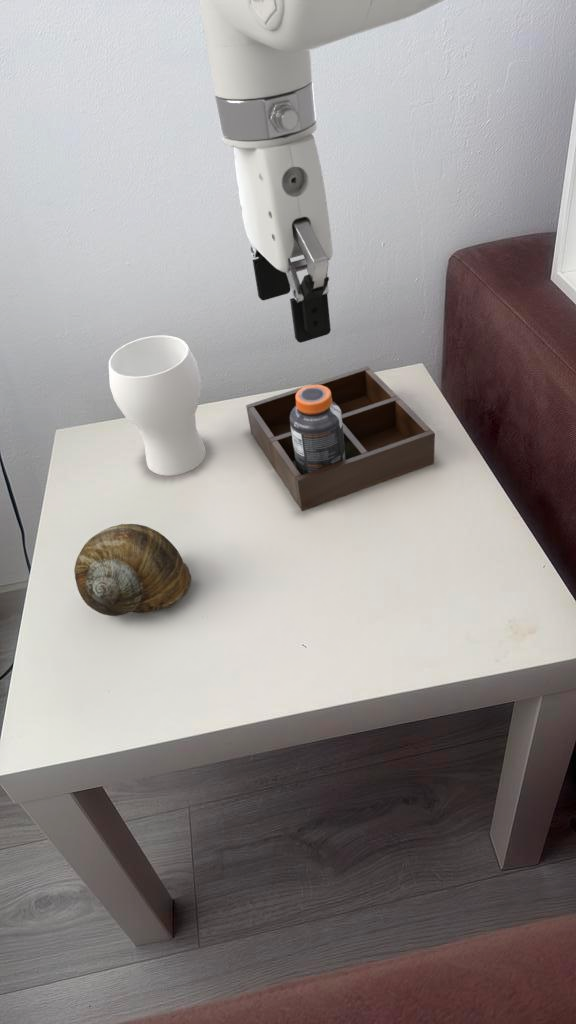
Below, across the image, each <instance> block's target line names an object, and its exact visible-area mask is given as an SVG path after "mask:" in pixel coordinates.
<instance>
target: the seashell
mask: <svg viewBox="0 0 576 1024" xmlns="http://www.w3.org/2000/svg"><path fill="white" fill-rule="evenodd" d="M73 572H74V578H75V583H76V587H77V591H78V594H79V595H80V598H81V599H82V600H83V602H84V603H85V605H87V606H88V607H89V608H91V609H92V610H93V611H95V612H97V613H99V614H101V615H105V616H109V617H121V616H125V615H127V614H128V615H129V614H131V613H134V614H147V613H156V612H160V611H163V610H166V609H168V608H171V607H173V606H175V605H176V604H178V603H179V602H180V601H181V600H182V599H183V598H184V597H185V595H186V594H187V592H188V590H189V589H190V586H191V581H192V575H191V573H190V569H189V567H188V565H187V564H186V563H185V562H184V559H183V557H182V556H181V554H180V552H179V550H178V549H177V548H176V547H175V545H174V544H173V542H171V541H170V540H169V539H168V538H167V537H166V536H164V535H163V534H162V533H161V532H159V531H157V530H156V529H153V528H151V527H149V526H147V525H142V524H137V523H121V524H117V525H113V526H110V527H107V528H105V529H103V530H101V531H99V532H97V533H96V534H95V535H93V536H92V537H91V538H89V539H88V541H86V543H85V544H84V545H83V546H82V548H81V550H80V551H79V554H78V555H77V558H76V560H75V564H74V571H73Z"/></svg>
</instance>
